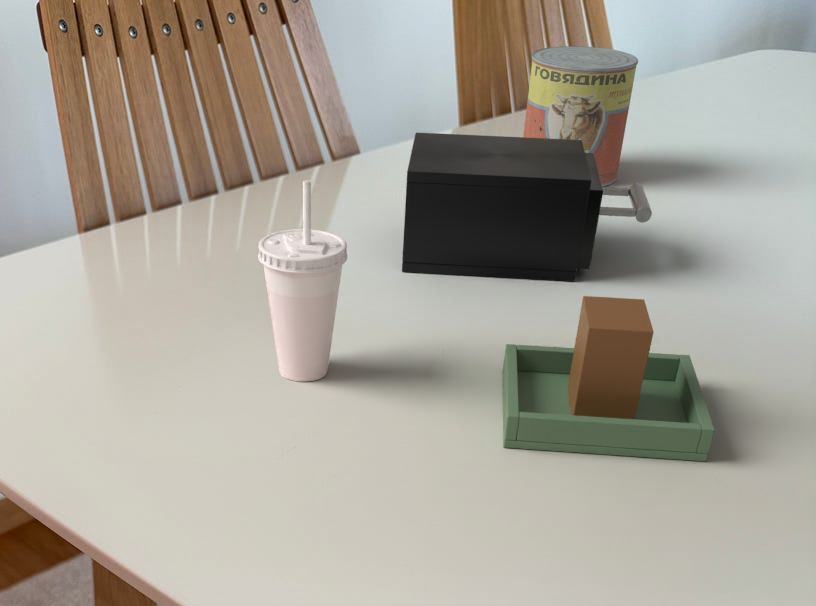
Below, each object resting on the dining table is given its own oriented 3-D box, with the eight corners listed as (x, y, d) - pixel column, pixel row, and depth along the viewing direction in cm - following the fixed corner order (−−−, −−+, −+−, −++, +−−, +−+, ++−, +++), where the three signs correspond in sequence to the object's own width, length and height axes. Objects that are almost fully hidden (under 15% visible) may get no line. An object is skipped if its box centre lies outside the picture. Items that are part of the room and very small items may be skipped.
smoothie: (292, 397, 77) (289, 200, 68) (245, 365, 81) (237, 175, 72) (361, 375, 80) (368, 183, 71) (313, 345, 83) (313, 160, 74)
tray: (682, 384, 79) (689, 354, 78) (706, 461, 70) (715, 430, 69) (502, 373, 80) (506, 343, 79) (503, 447, 71) (507, 416, 70)
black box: (567, 234, 105) (582, 139, 99) (575, 281, 95) (591, 180, 89) (410, 225, 106) (415, 132, 100) (401, 272, 96) (407, 171, 90)
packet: (625, 391, 77) (644, 299, 72) (632, 427, 73) (653, 331, 68) (567, 388, 77) (583, 295, 73) (571, 423, 73) (588, 327, 68)
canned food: (516, 185, 117) (530, 65, 109) (520, 157, 125) (534, 43, 117) (618, 192, 115) (640, 71, 107) (616, 163, 124) (636, 49, 116)
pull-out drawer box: (631, 229, 103) (646, 155, 99) (644, 272, 94) (661, 193, 90) (434, 219, 105) (439, 145, 100) (428, 260, 96) (434, 182, 91)
